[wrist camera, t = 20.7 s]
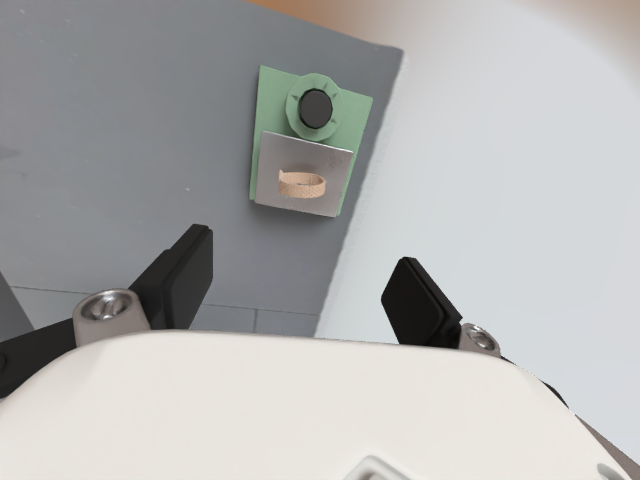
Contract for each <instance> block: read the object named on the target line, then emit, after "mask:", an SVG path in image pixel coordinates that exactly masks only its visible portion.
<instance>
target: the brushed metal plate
mask: <svg viewBox="0 0 640 480" xmlns="http://www.w3.org/2000/svg"><path fill="white" fill-rule="evenodd" d="M353 153H354V152H353V151H349V150H345V149H341V148H336V147H332V146H328V145H324V144H320V143H316V142H311V141H307V140H303V139H299V138H295V137H291V136H286V135H282V134H278V133H274V132H270V131H266V130H261V139H260V150H259V160H258V171H257V182H256V193H255V203H258V204H263V205H269V206H274V207H280V208H285V209H291V210H296V211H302V212H308V213H313V214H319V215H324V216H330V217H335V216H336V213H337V209H338V206H339V202H340V199H341V195H342V192H343V188H344V185H345V181H346V178H347V174H348V171H349V167H350V164H351V160H352V157H353ZM280 170H282V171H283V173H288V172H289V173H290V172H298V173H299V172H302V173H310V174H315V175H318V176H321V177H323V178H324V179H325V180H326V185H325V192H324V194H323V195H321V196H319V197H313V198H298V197H291V196H288V195H284V194H282V196H280V195H279V171H280ZM300 175H301V174H300ZM293 180H294V179H293ZM290 184H296V185H309V184H303V182H302V184H301V183H290ZM295 188H296V187H295ZM295 192H296V190H295ZM303 194H304V193H303ZM300 196H301V195H300Z"/></svg>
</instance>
